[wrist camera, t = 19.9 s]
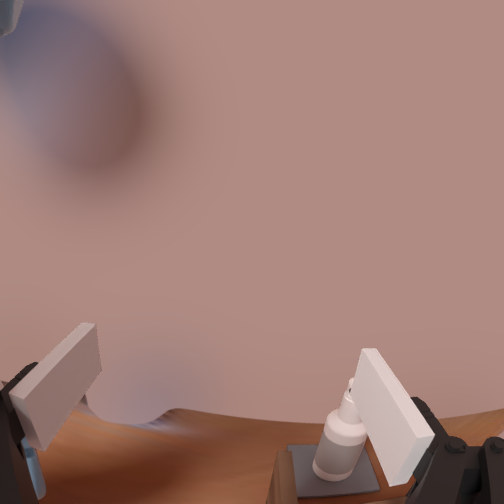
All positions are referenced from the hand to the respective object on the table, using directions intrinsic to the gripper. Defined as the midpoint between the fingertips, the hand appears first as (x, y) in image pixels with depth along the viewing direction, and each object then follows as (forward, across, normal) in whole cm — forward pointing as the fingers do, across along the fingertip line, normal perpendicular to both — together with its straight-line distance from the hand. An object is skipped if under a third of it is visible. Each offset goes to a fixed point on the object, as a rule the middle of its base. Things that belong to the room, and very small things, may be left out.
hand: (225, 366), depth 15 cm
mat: (+21, +17, -34) cm, 43 cm away
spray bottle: (+21, +17, -34) cm, 43 cm away
